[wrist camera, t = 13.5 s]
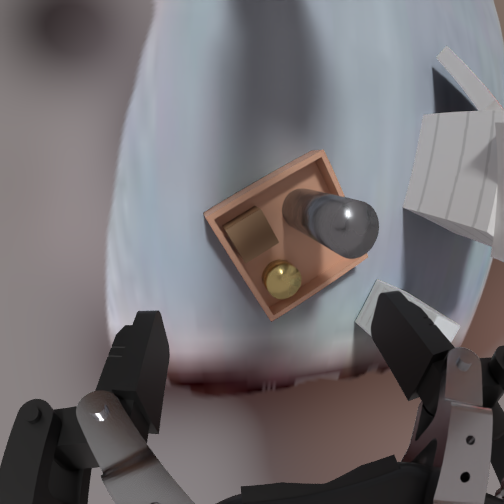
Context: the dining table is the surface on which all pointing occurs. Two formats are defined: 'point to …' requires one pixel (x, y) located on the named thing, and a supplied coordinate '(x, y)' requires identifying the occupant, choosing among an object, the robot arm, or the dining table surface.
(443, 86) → the dining table surface
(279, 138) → the dining table surface
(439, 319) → the supplement box
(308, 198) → the disc
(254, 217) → the walnut block
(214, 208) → the tray
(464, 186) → the pizza boxes
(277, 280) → the brass disc
